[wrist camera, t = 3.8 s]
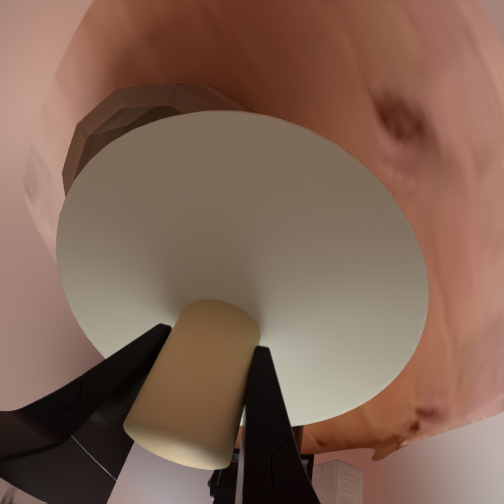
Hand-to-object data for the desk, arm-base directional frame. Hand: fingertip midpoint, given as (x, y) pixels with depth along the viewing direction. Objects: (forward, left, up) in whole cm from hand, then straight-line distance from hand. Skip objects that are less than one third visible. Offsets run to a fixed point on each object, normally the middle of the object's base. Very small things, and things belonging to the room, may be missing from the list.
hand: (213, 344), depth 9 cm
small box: (-40, -16, -12) cm, 45 cm away
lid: (0, 0, -3) cm, 3 cm away
